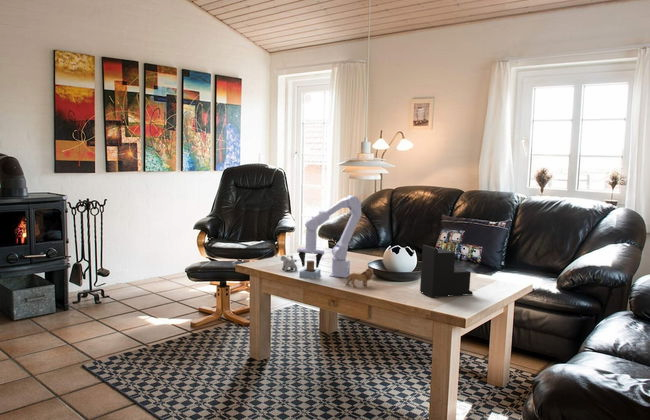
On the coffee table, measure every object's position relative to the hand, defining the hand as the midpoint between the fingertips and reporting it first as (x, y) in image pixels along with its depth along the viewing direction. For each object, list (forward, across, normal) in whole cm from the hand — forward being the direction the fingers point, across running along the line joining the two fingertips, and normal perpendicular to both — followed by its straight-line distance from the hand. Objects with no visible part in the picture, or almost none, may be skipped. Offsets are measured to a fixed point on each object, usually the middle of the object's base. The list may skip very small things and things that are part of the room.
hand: (310, 266), depth 283 cm
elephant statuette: (+5, +17, -11) cm, 21 cm away
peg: (+5, 0, 0) cm, 5 cm away
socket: (+5, 0, 0) cm, 5 cm away
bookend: (+5, -72, +11) cm, 73 cm away
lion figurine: (+5, -29, +12) cm, 32 cm away
